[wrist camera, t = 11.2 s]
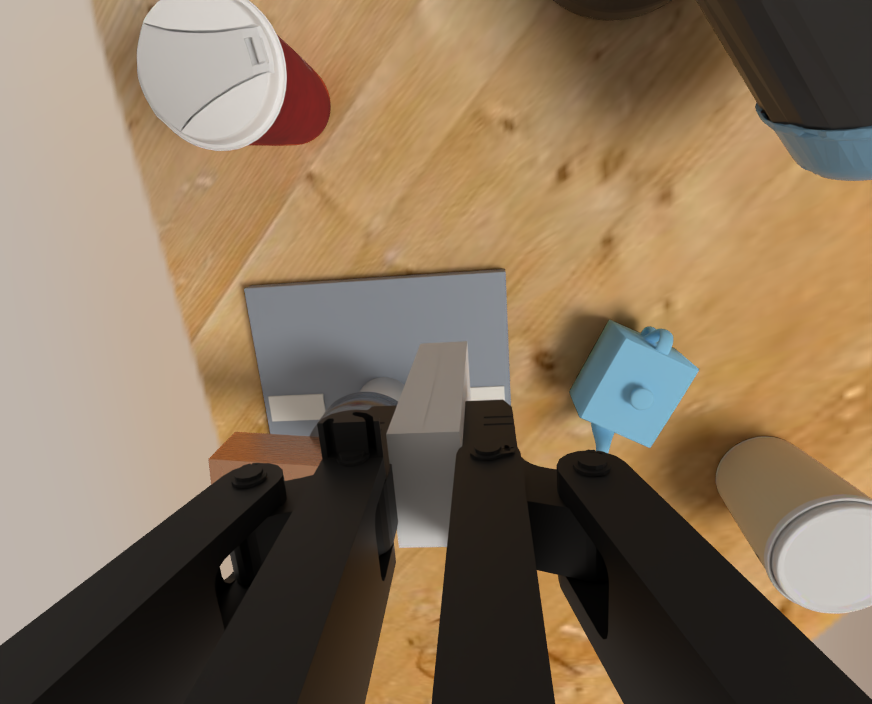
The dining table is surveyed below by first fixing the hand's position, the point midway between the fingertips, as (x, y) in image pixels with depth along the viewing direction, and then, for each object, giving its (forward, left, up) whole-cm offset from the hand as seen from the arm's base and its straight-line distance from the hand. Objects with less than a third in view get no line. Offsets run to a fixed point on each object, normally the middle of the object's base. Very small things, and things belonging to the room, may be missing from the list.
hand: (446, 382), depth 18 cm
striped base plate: (+12, -8, -29) cm, 33 cm away
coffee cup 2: (+21, +25, -30) cm, 44 cm away
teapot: (+11, +12, -30) cm, 34 cm away
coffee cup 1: (-13, -13, -30) cm, 35 cm away
